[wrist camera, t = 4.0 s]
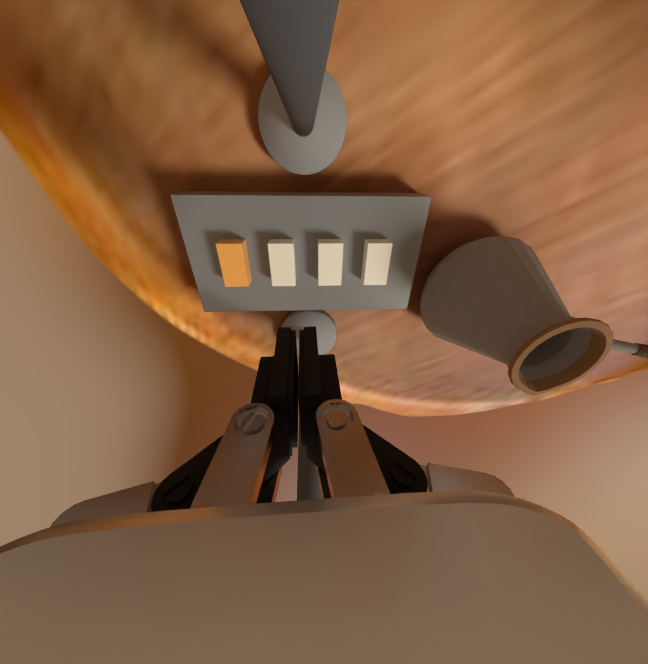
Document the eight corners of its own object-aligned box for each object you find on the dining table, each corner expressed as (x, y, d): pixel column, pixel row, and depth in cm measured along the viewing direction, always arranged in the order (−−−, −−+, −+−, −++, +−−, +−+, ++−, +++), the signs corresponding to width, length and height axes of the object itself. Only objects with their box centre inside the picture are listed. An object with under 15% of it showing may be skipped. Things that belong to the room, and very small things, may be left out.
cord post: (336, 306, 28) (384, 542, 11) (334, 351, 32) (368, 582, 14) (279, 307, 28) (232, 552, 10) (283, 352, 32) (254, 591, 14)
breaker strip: (418, 192, 22) (439, 199, 19) (397, 295, 28) (411, 315, 24) (186, 190, 21) (161, 196, 18) (213, 297, 27) (199, 319, 23)
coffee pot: (400, 326, 30) (464, 440, 18) (427, 225, 24) (557, 294, 12) (562, 330, 32) (723, 436, 20) (629, 236, 26) (929, 306, 13)
